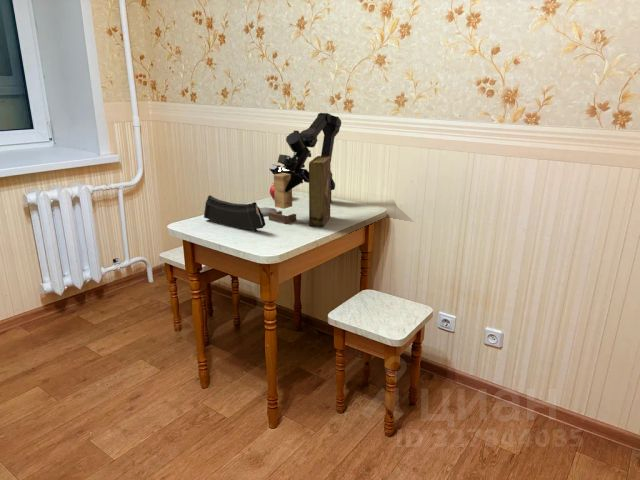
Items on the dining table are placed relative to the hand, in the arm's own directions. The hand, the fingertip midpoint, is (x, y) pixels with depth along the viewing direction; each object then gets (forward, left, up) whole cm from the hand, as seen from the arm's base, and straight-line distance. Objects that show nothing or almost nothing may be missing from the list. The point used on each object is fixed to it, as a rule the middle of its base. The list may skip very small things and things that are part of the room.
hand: (280, 190), depth 189 cm
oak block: (-1, -1, -7) cm, 7 cm away
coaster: (+9, -11, -12) cm, 19 cm away
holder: (-1, -1, -12) cm, 12 cm away
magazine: (+17, +9, -13) cm, 23 cm away
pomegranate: (+6, -37, -13) cm, 39 cm away
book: (-16, +1, -12) cm, 20 cm away
